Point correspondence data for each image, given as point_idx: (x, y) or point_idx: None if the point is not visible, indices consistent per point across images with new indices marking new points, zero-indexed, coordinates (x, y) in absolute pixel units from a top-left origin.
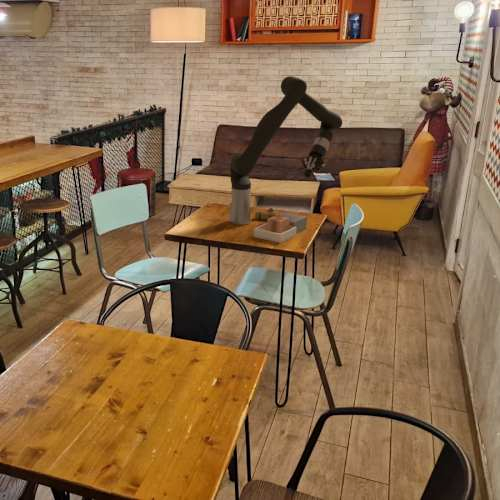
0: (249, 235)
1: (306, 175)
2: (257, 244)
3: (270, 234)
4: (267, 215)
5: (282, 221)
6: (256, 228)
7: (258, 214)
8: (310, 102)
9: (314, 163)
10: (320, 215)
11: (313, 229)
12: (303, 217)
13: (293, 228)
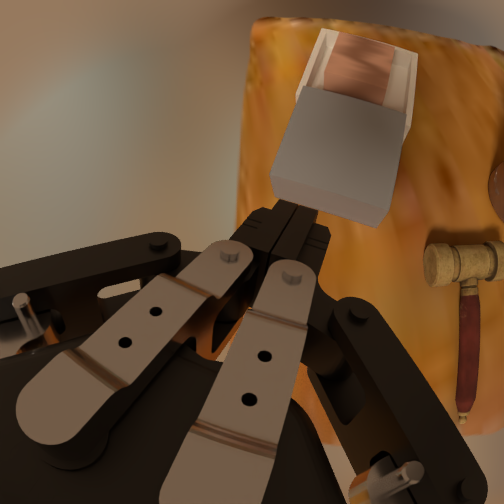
0: (429, 81)
1: (294, 203)
2: (375, 32)
3: None
4: (460, 246)
5: (336, 39)
6: (412, 55)
7: (491, 241)
8: None
9: (134, 301)
10: None
11: (244, 199)
12: (283, 155)
13: (302, 78)
